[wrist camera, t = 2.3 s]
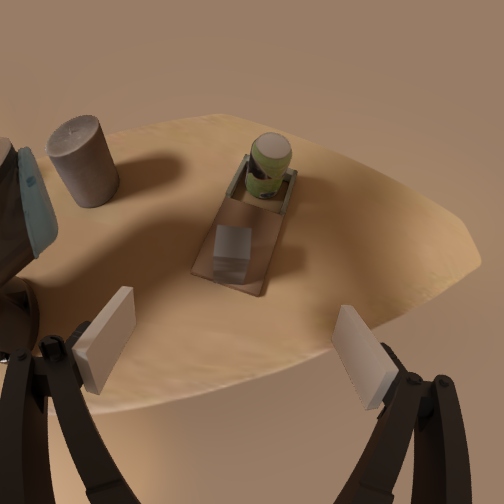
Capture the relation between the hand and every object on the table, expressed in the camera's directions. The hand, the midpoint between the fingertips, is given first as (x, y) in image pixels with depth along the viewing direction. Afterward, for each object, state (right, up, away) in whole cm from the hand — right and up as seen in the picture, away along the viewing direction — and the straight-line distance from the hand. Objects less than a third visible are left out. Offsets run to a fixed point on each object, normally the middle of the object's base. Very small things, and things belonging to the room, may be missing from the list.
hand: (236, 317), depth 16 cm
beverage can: (+3, +15, +31) cm, 34 cm away
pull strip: (+1, +9, +27) cm, 29 cm away
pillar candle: (-28, +16, +27) cm, 42 cm away
